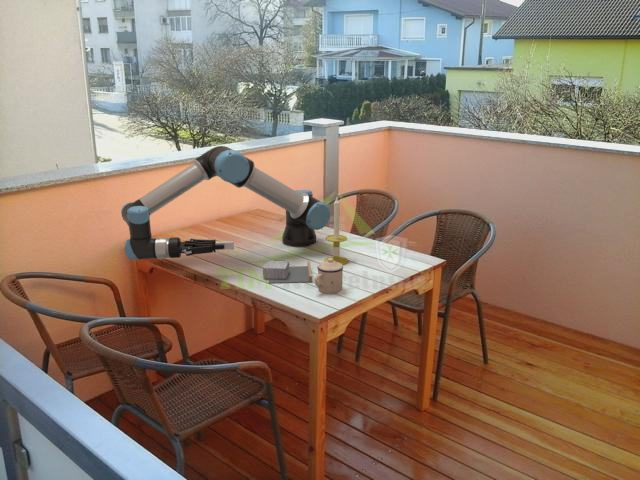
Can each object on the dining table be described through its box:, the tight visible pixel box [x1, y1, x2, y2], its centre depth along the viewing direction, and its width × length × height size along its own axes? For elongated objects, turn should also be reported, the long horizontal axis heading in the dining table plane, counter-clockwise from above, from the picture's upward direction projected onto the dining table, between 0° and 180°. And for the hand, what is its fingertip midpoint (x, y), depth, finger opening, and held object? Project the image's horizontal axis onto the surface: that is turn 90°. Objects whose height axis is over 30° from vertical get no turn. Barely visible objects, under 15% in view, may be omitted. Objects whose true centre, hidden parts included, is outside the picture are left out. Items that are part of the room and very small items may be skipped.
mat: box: [268, 260, 313, 285], centre depth 224 cm, size 16×16×2 cm
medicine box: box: [262, 260, 290, 280], centre depth 222 cm, size 8×4×9 cm
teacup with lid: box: [314, 257, 344, 295], centre depth 208 cm, size 12×9×12 cm
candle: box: [323, 197, 349, 266], centre depth 235 cm, size 10×10×27 cm
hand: (233, 245), depth 220 cm, fingers closed
